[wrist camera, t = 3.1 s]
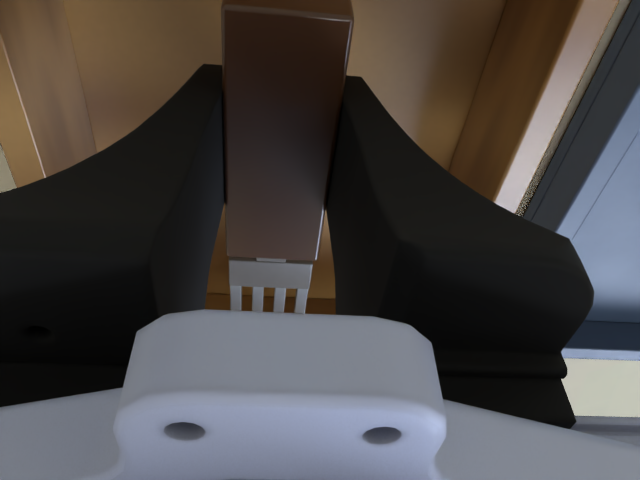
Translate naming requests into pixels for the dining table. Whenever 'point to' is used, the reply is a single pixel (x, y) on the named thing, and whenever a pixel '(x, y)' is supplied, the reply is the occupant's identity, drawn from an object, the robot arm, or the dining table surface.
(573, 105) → the dining table surface
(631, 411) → the dining table surface
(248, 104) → the fork
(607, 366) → the dining table surface
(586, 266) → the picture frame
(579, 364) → the dining table surface
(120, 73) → the wooden box
